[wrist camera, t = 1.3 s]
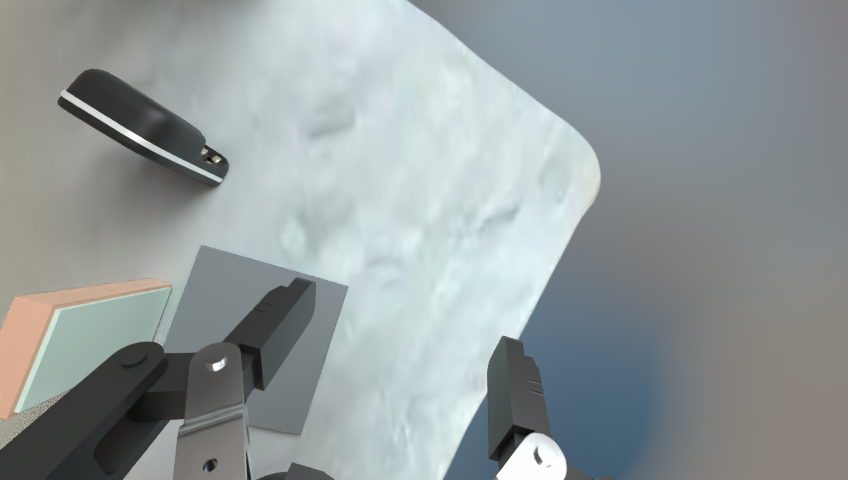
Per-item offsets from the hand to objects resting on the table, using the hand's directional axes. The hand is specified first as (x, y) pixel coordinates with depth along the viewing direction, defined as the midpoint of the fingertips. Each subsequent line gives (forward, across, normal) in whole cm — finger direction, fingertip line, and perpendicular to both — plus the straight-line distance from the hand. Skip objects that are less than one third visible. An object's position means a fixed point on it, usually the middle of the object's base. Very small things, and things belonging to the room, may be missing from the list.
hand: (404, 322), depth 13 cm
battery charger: (+18, +25, +4) cm, 31 cm away
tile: (+9, +25, +18) cm, 32 cm away
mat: (+10, +15, +19) cm, 26 cm away
